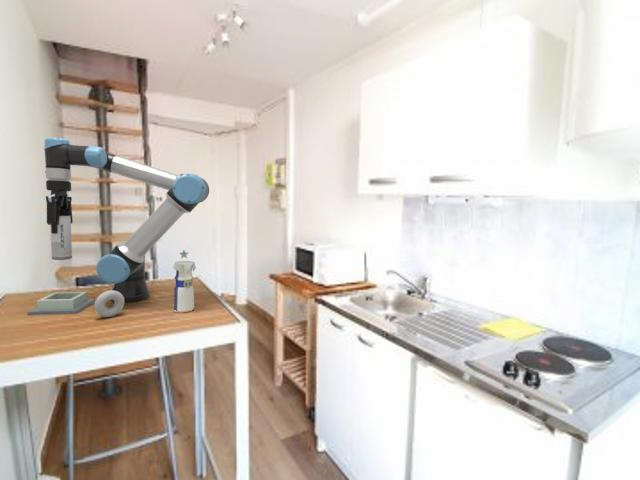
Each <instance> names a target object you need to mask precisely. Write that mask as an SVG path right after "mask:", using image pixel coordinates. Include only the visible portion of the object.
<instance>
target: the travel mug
mask: <svg viewBox="0 0 640 480" xmlns="http://www.w3.org/2000/svg"><path fill="white" fill-rule="evenodd" d="M70 217H71V216H70V209H60V218H59V224H58V225H60V231H61V242H52V239H51V238H50V248H51V250H50V251H51V252H50V253H51V259H52V260H54V261H66V260H72V259H73V247H72V246H73V245H72V242H73V241H72V225H71V218H70ZM49 226H50V230H51V225H49Z"/></svg>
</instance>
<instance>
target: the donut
mask: <svg viewBox="0 0 640 480" xmlns="http://www.w3.org/2000/svg"><path fill="white" fill-rule="evenodd" d="M111 299H112V300H114V301H113V305H112V306H111V307H107V306H106V304H107V302H108V301H109V300H110V301H111ZM125 303H126V302H125V301H124V297H123V295H122V294H121V293H119V292H118V291H114V290H112V289H111V290H105V291H104V292H102V293H101V294H99V295H98V296H97V297H96V298H95V302H94V303H93V304H94V305H93V307H94V310H95V312H96V315H98V316H99V317H103V318H111V317H114V316H117V315H118V314H119V313H120V312H121V311H122V310H123V308H124V306H125Z"/></svg>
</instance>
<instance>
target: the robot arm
mask: <svg viewBox="0 0 640 480" xmlns="http://www.w3.org/2000/svg"><path fill="white" fill-rule="evenodd" d="M43 151H44V157H45V158H44V159H45V170H44V173H45V177H46V179H47V180H46V181H45V188H46V190H47V191H50V195H46V196H45V201H46V224H47V225H49V226H50V225H51V229H50V240H51V239H52V242H61V231H60V225H58V224H59V218H60V209H70V216H71V217H70V218H71V224H73V208H72V207H73V205H72V200H73V199H72V196H68V192H72V182H71V181H72V174H71V173H72V172H71V166H81V167H89V168H93V169H94V168H95V169H99V170H102V171H105V172H108V173H112V174H115V175H119V176H121V177H125V178H128V179H131V180H134V181H137V182H140V183H144V184H147V185H150V186H154V187H157V188H160V189H163V190H167V192H166V199H165V200H164V201H163V202H161V204H160V205H159V206H158V207H157V208H156V209H155V210H154V211H153V212H152V213H151V214H150V216H148V218H147V219H146V220H144V222H143V223H142V224H141V225H139V227H138V228H137V229H136V230H135V231H134V232H133V233H132V234H131V236H130V237H129V238H128V239H127V240H126V241H125V242H118V243H117V244H116V245H115V246H114V247H113V248H112V250H111V251H110V252H109V253H108V254H105V255H103V256H101V258H100V259H99V260H98V262H96V263H97V264H96V273H97V275H98V276H99V278H100V279H101V280H102V281H104V282H106V283H107V284H112V285H113V286H112V289H111V290H114V291H118V292H119V293H121V294H122V295H123V297H124V301H125V302H124V303H132V302H133V301H134V302H139V301H143V299H144V300H146V298H147V299H149V297H150V290H149V286H148V284H147V282H146V262H145V261H146V254H147V253H149V251H150V250H151V249H153V247H154V246H155V245H156V243H158V242H159V241H160V239H162V237H163V236H165V234H166V233H167V232H168V231H169V229H171V227H172V226H174V225H175V223H176V222H177V221H178V220H179V219H180V218H181V217H182V216H183V215H184V214H189V213H191V212H192V211H193V210H194V209H195V208H196V207H197V206H198V205H199V204H200V203H202V202H204V201H206V199H207V198H208V197H209V195H210V185H209V183H208V182H207V181H206V180H205V179H204V178H202V177H201V176H199V175H197V174H194V173H184V174H183V173H180V174H176V173H173V172H169V171H166V170H163V169H160V168H157V167H155V166H151V165H148V164H145V163H141V162H138V161H136V160H131V159H129V158H126V157H123V156H120V155H115V154H113V153H111V152H109V151H108V152H107V151H106V150H105V149H104V148H103V147H101V146H95V145H74V144H71V143H70V140H69V139H66V138H63V137H62V138H60V137H46V138H45V140H44V149H43ZM110 301H112V302H114V300H112V299H110Z"/></svg>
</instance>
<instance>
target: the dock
mask: <svg viewBox="0 0 640 480" xmlns="http://www.w3.org/2000/svg"><path fill="white" fill-rule="evenodd" d="M95 301H96V298H88V291H69V292H68V291H67V292H63V291H61V292H59V291H58V292H57V291H56V292H52V293H50V294H48V295H46V296H44V297H41V298H40V299H38V300H36V302H37V303H36V305H37V306H36V307H34V308H32V309H30V310H28V311H27V316H39V315H46V316H47V315H75V314H79V313H81V312H82V311H83V310H85V309H87V308H88V307H89V306H91V305H93V304H95Z"/></svg>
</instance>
